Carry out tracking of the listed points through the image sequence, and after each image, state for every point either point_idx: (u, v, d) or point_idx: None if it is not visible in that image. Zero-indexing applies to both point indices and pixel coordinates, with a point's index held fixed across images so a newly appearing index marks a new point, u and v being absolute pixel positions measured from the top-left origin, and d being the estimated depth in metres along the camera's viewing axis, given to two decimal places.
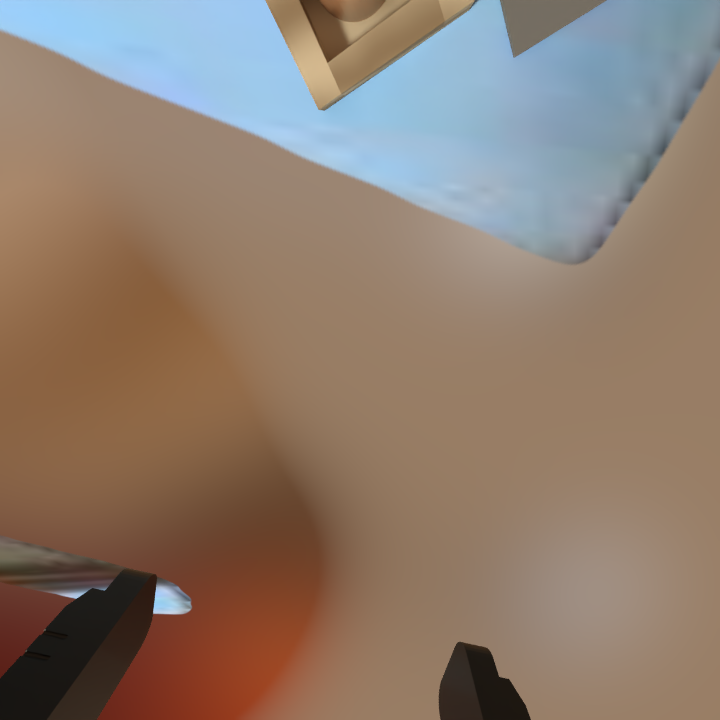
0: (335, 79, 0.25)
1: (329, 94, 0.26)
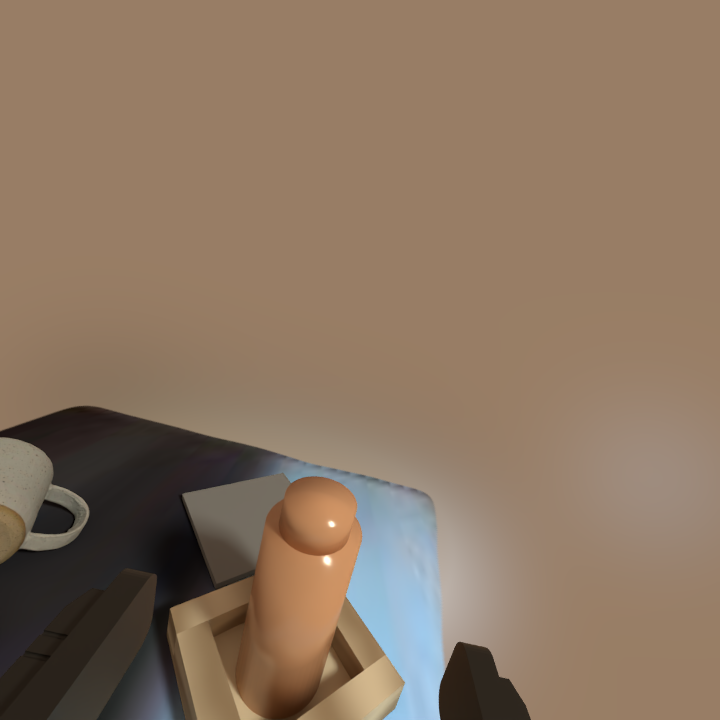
0: (375, 660, 0.25)
1: (388, 668, 0.24)
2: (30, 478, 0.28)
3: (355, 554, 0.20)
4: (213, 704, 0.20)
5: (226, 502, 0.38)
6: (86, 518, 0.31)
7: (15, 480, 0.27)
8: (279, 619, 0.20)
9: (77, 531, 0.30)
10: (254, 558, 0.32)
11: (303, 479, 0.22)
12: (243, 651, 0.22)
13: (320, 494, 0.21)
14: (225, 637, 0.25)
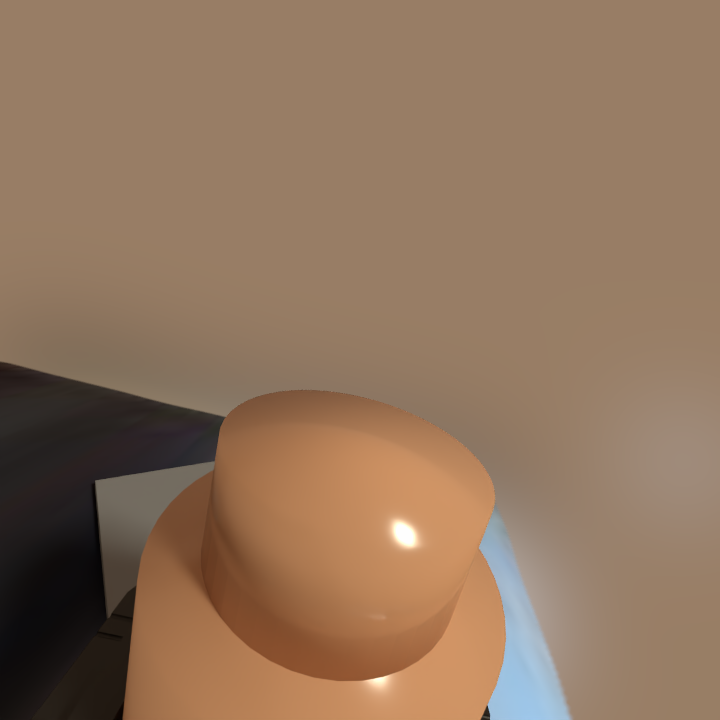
0: None
1: None
2: None
3: (501, 655, 0.05)
4: None
5: (171, 495, 0.23)
6: None
7: None
8: None
9: None
10: None
11: (296, 393, 0.07)
12: None
13: (355, 430, 0.06)
14: None
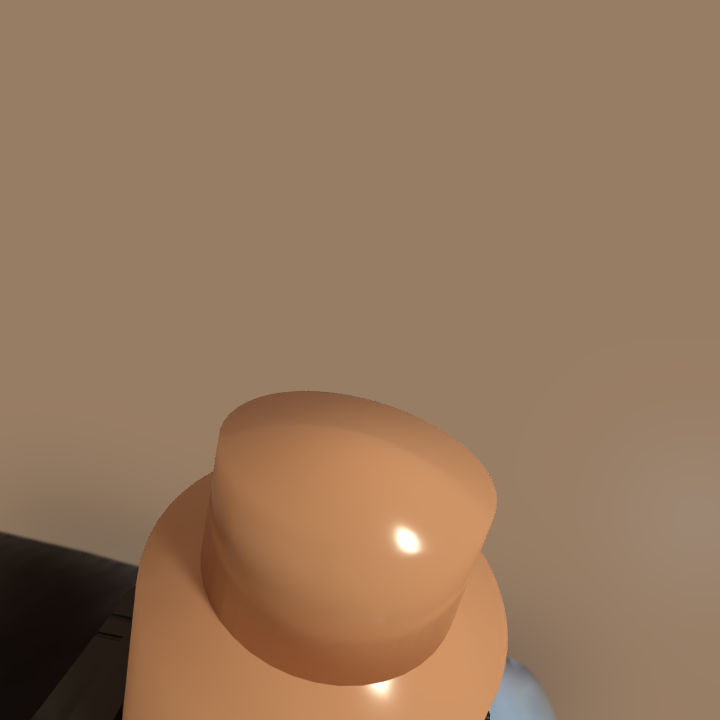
0: None
1: None
2: None
3: (503, 659, 0.05)
4: None
5: None
6: None
7: None
8: None
9: None
10: None
11: (297, 394, 0.07)
12: None
13: (356, 431, 0.06)
14: None
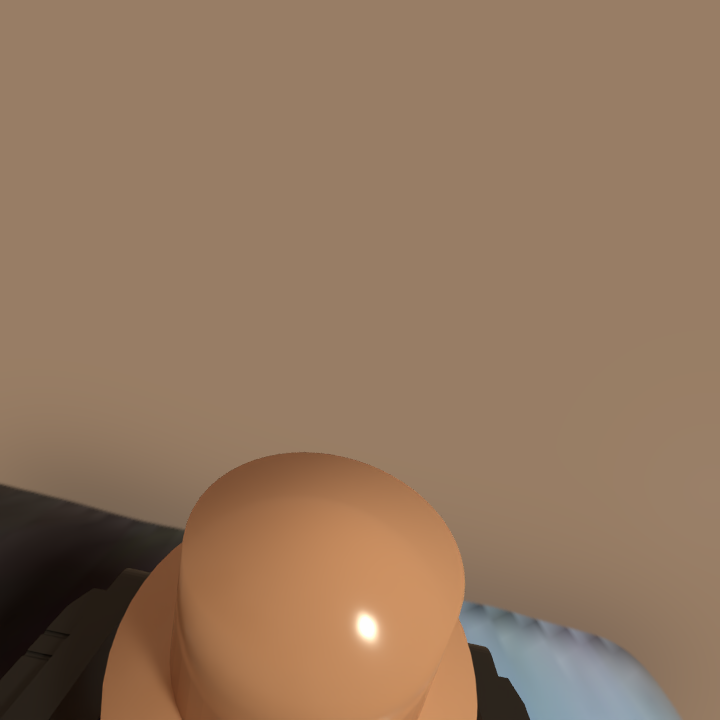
0: None
1: None
2: None
3: None
4: None
5: None
6: None
7: None
8: None
9: None
10: None
11: (273, 459, 0.07)
12: None
13: (328, 507, 0.06)
14: None
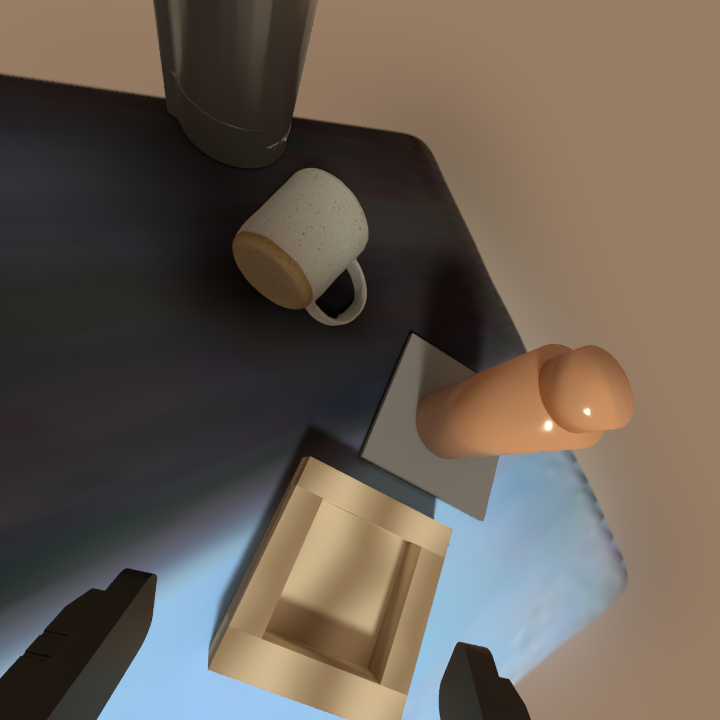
0: (395, 689, 0.21)
1: (397, 709, 0.21)
2: (340, 254, 0.25)
3: (576, 448, 0.19)
4: (271, 572, 0.21)
5: (436, 380, 0.31)
6: (356, 315, 0.29)
7: (328, 252, 0.24)
8: (479, 413, 0.22)
9: None
10: (406, 464, 0.28)
11: (604, 352, 0.19)
12: (438, 396, 0.27)
13: (606, 380, 0.18)
14: (329, 510, 0.25)
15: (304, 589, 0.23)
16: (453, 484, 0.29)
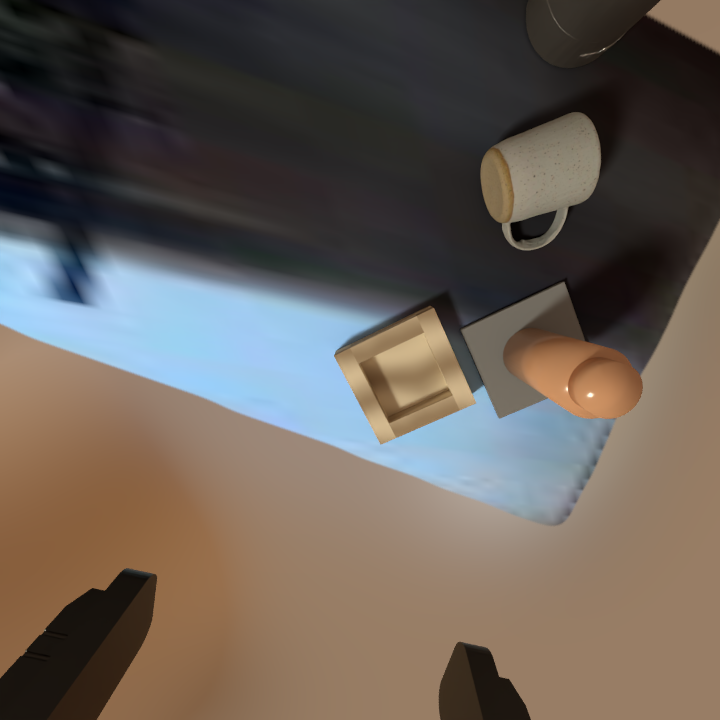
0: (393, 431, 0.41)
1: (388, 437, 0.41)
2: (551, 202, 0.31)
3: None
4: (378, 343, 0.38)
5: (550, 324, 0.39)
6: (533, 248, 0.37)
7: (542, 197, 0.31)
8: (539, 357, 0.32)
9: (519, 248, 0.37)
10: (482, 354, 0.40)
11: (638, 377, 0.26)
12: (534, 333, 0.36)
13: (618, 391, 0.26)
14: (422, 341, 0.40)
15: (386, 364, 0.41)
16: (500, 387, 0.41)
